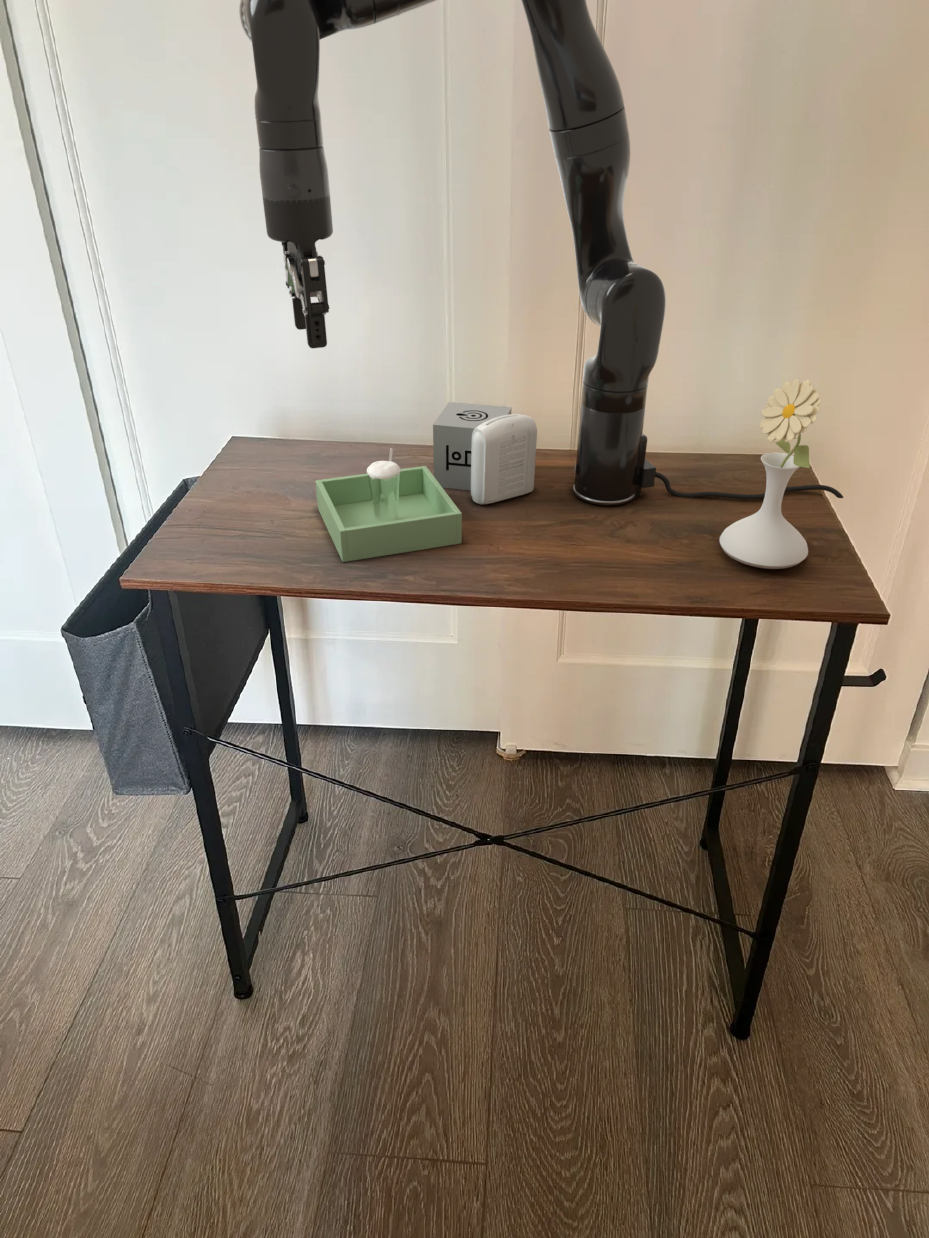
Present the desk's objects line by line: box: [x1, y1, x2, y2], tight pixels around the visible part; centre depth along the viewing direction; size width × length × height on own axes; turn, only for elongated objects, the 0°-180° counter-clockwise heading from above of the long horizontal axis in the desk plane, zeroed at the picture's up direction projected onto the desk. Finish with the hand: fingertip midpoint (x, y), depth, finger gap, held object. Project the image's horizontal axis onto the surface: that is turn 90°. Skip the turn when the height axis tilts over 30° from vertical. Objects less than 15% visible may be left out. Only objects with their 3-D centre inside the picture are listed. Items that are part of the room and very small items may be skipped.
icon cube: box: [432, 401, 512, 491], centre depth 138 cm, size 10×10×10 cm
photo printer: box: [470, 413, 538, 505], centre depth 132 cm, size 10×4×12 cm, turn 123°
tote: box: [315, 465, 463, 563], centre depth 126 cm, size 17×17×5 cm
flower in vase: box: [719, 378, 822, 570], centre depth 113 cm, size 13×11×25 cm
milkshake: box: [366, 447, 401, 524], centre depth 124 cm, size 5×5×10 cm
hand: (310, 337), depth 109 cm, fingers open, 8 cm apart
